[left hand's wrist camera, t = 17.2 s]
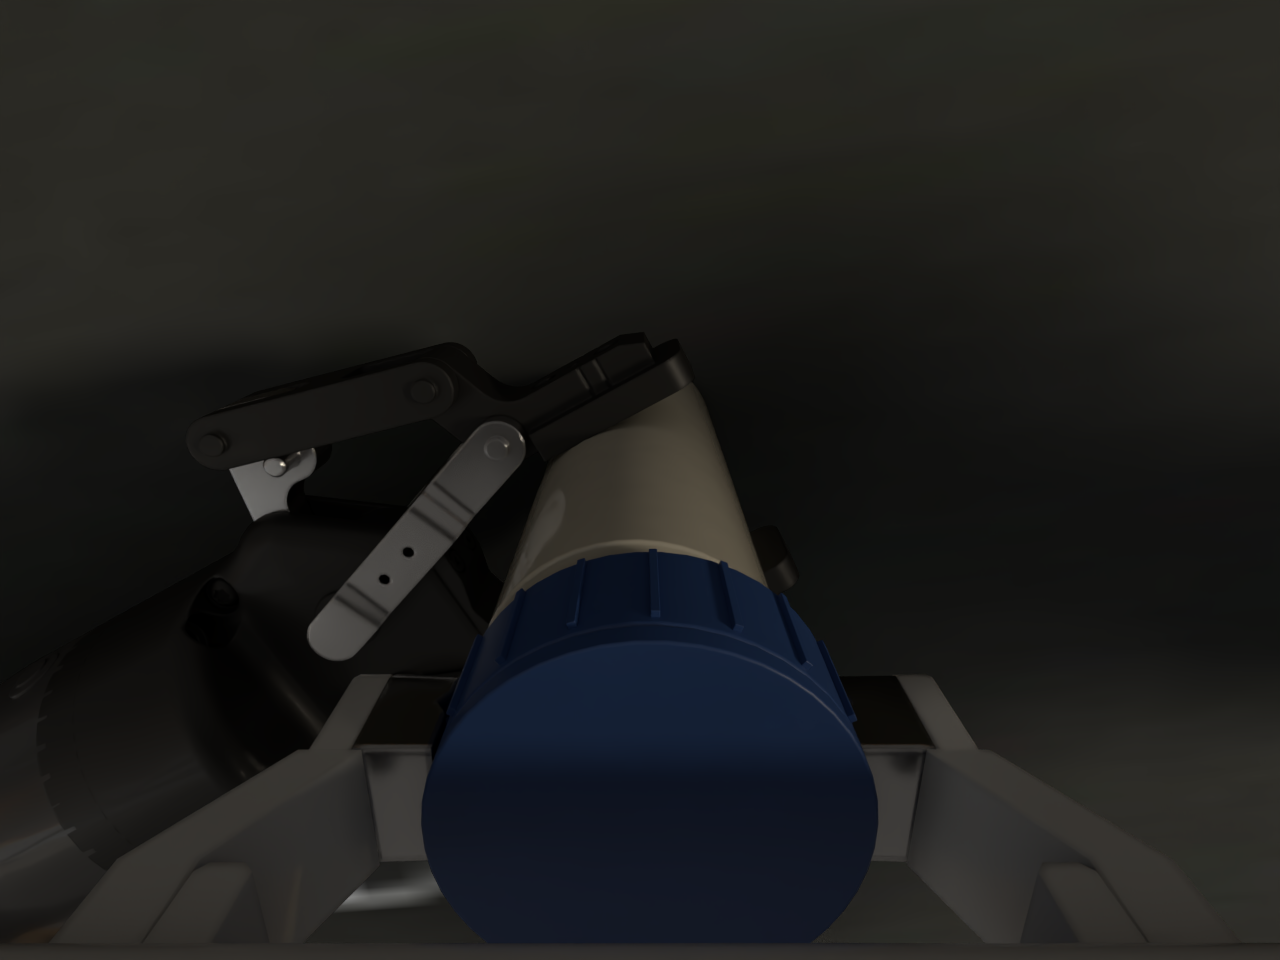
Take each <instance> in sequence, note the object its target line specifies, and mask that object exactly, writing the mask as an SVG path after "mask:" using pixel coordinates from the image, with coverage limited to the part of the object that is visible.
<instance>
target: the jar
mask: <svg viewBox="0 0 1280 960" xmlns="http://www.w3.org/2000/svg"><path fill="white" fill-rule="evenodd" d="M649 549H657V552H666V553H675V554H683V555H689V556H693V557H698V558H702V559H706V560H710V561H713V562H716V563H719V562H720V561H724V562H727V563H728V566H729V568H732V569H735V570H737V571H739V572H741V573H743V574H745V575H747V576H749V577H750V578H752V579H754V580H756V581H758V582H760V583H761V584H763V585H764V586H765V587H767V588H768V585H767V582H766V579H765V576H764V573H763V570H762V567H761V564H760V561H759V558H758V555H757V553H756V550H755V547H754V544H753V541H752V538H751V535H750V532H749V529H748V526H747V523H746V520H745V517H744V514H743V511H742V508H741V506H740V503H739V500H738V497H737V494H736V491H735V488H734V485H733V482H732V479H731V476H730V473H729V470H728V467H727V464H726V461H725V459H724V456H723V453H722V450H721V447H720V444H719V441H718V438H717V435H716V432H715V429H714V426H713V423H712V420H711V417H710V414H709V411H708V409H707V406H706V404H705V401H704V399H703V397H702V395H701V394H700V392H699V390H698V389H697V388H696V387H695V385H694V384H693V383H692V382H691V383H690V384H688V385H687V386H686V387H684V388H683V389H681V390H680V391H678V392H676V393H674V394H672V395H670V396H669V397H667V398H665V399H663V400H661V401H659V402H657V403H655V404H653V405H652V406H650V407H648V408H646V409H644V410H642V411H640V412H638V413H636V414H635V415H633V416H631V417H629V418H627V419H625V420H623V421H621V422H620V423H618V424H616V425H614V426H612V427H610V428H608V429H606V430H604V431H603V432H601V433H599V434H597V435H595V436H593V437H591V438H589V439H587V440H584V441H583V442H581V443H579V444H578V445H576V446H574V447H572V448H571V449H569V450H567V451H565V452H563V453H561V454H559V455H557V456H555V457H554V458H552V459H550V460H549V461H548V464H547V467H546V469H545V472H544V475H543V478H542V480H541V483H540V486H539V489H538V491H537V494H536V497H535V500H534V502H533V505H532V508H531V511H530V513H529V516H528V519H527V522H526V524H525V527H524V530H523V533H522V535H521V538H520V541H519V544H518V546H517V549H516V552H515V555H514V557H513V560H512V563H511V566H510V568H509V571H508V574H507V577H506V579H505V582H504V585H503V588H502V590H501V593H500V596H499V599H498V601H497V604H496V607H495V610H494V612H493V615H492V618H491V621H490V623H489V626H490V625H491V624H492V622H493V621H494V620H495V619H496V617H497V616H498V615H499V614H500V612H502V611H503V610H504V609H505V608H506V607H507V606H508V605H509V604H510V603H511V602H512V601H513V600H514V598H515V595H516V592H517V591H518V590H520V589H521V588H523V589H524V590H525V591H526V590H527V589H529V588H530V587H532V586H533V585H534V584H536V583H537V582H539V581H541V580H543V579H545V578H547V577H548V576H550V575H552V574H554V573H556V572H558V571H560V570H562V569H565V568H568V567H570V566H573V565H576V564H577V560H579V559H582V558H585V560H586V561H587V560H591V559H595V558H599V557H604V556H608V555H614V554H623V553H631V552H649ZM768 589H769V588H768ZM489 626H488V627H489Z"/></svg>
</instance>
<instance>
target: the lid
mask: <svg viewBox="0 0 1280 960" xmlns="http://www.w3.org/2000/svg"><path fill="white" fill-rule="evenodd" d="M446 714H447V715H450V716H449V717H447V718H446V728H445V730H444V733H443V736H442V738H441V741H440V744H439V746H438V749H437V751H436V754H435V757H434V759H433V762H432V765H431V767H430V770H429V773H428V775H427V778H426V783H425V788H424V793H423V798H422V810H421V828H422V835H423V842H424V849H425V852H426V856H427V859H428V862H429V865H430V869H431V872H432V874H433V876H434V878H435V880H436V882H437V884H438V886H439V888H440V890H441V892H442V893H443V895H444V896H445V898H446V899H447V901H448V902H449V904H450V905H451V906H452V908H453V909H454V911H455V912H456V913H457V914H458V915H459V916H460V918H461V919H462V920H463V921H464V922H465V923H466V924H467V925H468V926H469V927H470V928H471V929H472V930H473V931H474V932H475V933H476V934H477V935H479V936H480V937H481V938H482V939H483V940H484V941H486V942H487V943H811V942H812V941H813V940H815V939H816V938H817V937H818V936H819V935H821V934H822V933H823V932H824V931H825V930H826V929H828V928H829V926H830V925H831V924H832V923H833V922H834V921H835V920H836V919H837V918H838V917H839V916H840V914H841V913H842V912H843V911H844V910H845V908H846V907H847V906H848V904H849V903H850V901H851V900H852V898H853V897H854V896H855V894H856V893H857V891H858V889H859V887H860V885H861V883H862V881H863V879H864V877H865V875H866V873H867V871H868V869H869V865H870V862H871V859H872V856H873V853H874V850H875V844H876V838H877V831H878V824H879V823H878V798H877V793H876V788H875V783H874V778H873V775H872V772H871V769H870V767H869V764H868V762H867V759H866V756H865V754H864V751H863V749H862V747H861V744H860V742H859V739H858V737H857V735H856V732H855V730H854V727H853V725H852V722H855V721H857V718H856V715H855V713H854V711H853V708H852V706H851V704H850V701H849V699H848V697H847V695H846V692H845V690H844V688H843V685H842V683H841V681H840V678H839V676H838V674H837V671H836V669H835V667H834V664H833V662H832V660H831V657H830V655H829V653H828V650H827V648H826V646H825V644H824V642H823V640H820V641H818V642H817V641H816V640H815V638H814V636H813V634H812V633H811V631H810V629H809V628H808V627H807V626H806V624H805V623H804V622H803V621H802V619H801V618H800V617H799V616H798V614H797V613H796V612H795V611H794V610H793V609H792V608H791V607H790V605H789V602H788V600H787V597H786V596H785V595H784V594H782V593H780V594H779V595H777V594H775V593H774V592H772V591H771V590H770V589H768V588H767V587H765V586H764V585H763V584H761V583H760V582H758V581H756V580H754V579H752V578H750V577H749V576H747V575H745V574H743V573H741V572H739V571H737V570H735V569H732V568H729V566H728V563H727V562H724V561H720V562H719V563H716V562H713V561H710V560H706V559H702V558H698V557H693V556H689V555H683V554H675V553H666V552H657V549H649V552H631V553H623V554H614V555H608V556H604V557H599V558H595V559H591V560H587V561H586V560H585V558H582V559H579V560H577V564H576V565H573V566H570V567H568V568H565V569H562V570H560V571H558V572H556V573H554V574H552V575H550V576H548V577H547V578H545V579H543V580H541V581H539V582H537V583H536V584H534V585H533V586H532V587H530V588H529V589H527V590H526V591H525V590H524V589H523V588H521V589H520V590H518V591H517V592H516V595H515V598H514V600H513V601H512V602H511V603H510V604H509V605H508V606H507V607H506V608H505V609H504V610H503V611H502V612H500V614H499V615H498V616H497V617H496V619H495V620H494V621H493V622H492V624H491V625H490V626H489V627H488V629H487V630H486V632H485V633H484V635H483V636H481V635H479V634H477V636H476V637H475V639H474V642H473V644H472V647H471V649H470V652H469V655H468V657H467V660H466V662H465V665H464V668H463V670H462V673H461V675H460V678H459V680H458V683H457V686H456V688H455V691H454V693H453V696H452V698H451V701H450V704H449V706H448V709H447V711H446Z"/></svg>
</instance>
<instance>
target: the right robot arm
mask: <svg viewBox="0 0 1280 960" xmlns="http://www.w3.org/2000/svg"><path fill="white" fill-rule="evenodd" d="M694 378H695V375H694V373H693V370H692V367H691V364H690V362H689V361H688V359H687V357H686V355H685V353H684V351H683V349H682V347H681V345H680V343H679V342H678V340H677V339H672V340H670V341H667V342H665V343H663V344H661V345H659V346H657V347H655V348H652V346H651V345H650V343H649V341H648V339H647V337H646V335H645V333H644V332H640V333H632V334H624V335H619V336H617V337H616V338H614V339H612V340H610V341H608V342H607V343H605V344H603V345H601V346H600V347H598V348H596V349H594V350H592V351H590V352H589V353H587V354H585V355H584V356H582V357H580V358H578V359H576V360H574V361H572V362H571V363H569V364H567V365H565V366H563V367H561V368H560V369H558V370H556V371H554V372H552V373H551V374H549V375H547V376H545V377H543V378H542V379H540V380H538V381H536V382H534V383H532V384H530V385H527V386H522V387H513V386H508V385H505V384H503V383H501V382H499V381H497V380H496V379H495V378H493V377H492V376H491V375H490V374H488V373H487V372H486V371H485V370H484V369H482V368H481V367H480V366H479V365H477V361H476V359H475V357H474V355H473V354H472V353H471V351H470V350H469V349H467V348H466V347H465V346H463V345H461V344H458V343H453V342H448V343H443V344H439V345H435V346H431V347H427V348H423V349H419V350H416V351H412V352H408V353H404V354H400V355H396V356H392V357H389V358H385V359H381V360H377V361H373V362H369V363H365V364H362V365H358V366H354V367H350V368H346V369H342V370H338V371H334V372H331V373H327V374H323V375H319V376H315V377H311V378H307V379H304V380H300V381H296V382H292V383H288V384H284V385H280V386H277V387H273V388H269V389H265V390H261V391H257V392H255V393H253V394H250V395H248V396H246V397H244V398H242V399H240V400H238V401H235V402H233V403H231V404H229V405H227V406H225V407H223V408H221V409H218V410H216V411H214V412H212V413H210V414H208V415H206V416H203V417H201V418H199V419H197V420H196V421H194V422H193V423H192V424H191V425H190V426H189V428H188V430H187V433H186V444H187V447H188V450H189V452H190V454H191V455H192V456H193V458H194V459H195V460H196V461H197V462H199V463H200V464H201V465H203V466H205V467H207V468H209V469H212V470H228V469H229V470H230V472H231V474H232V476H233V478H234V481H235V483H236V485H237V487H238V489H239V491H240V493H241V495H242V497H243V499H244V502H245V504H246V506H247V508H248V510H249V512H250V514H251V516H252V518H253V520H254V522H253V523H252V524H251V525H250V526H249V527H248V528H247V529H246V530H245V532H244V533H243V535H242V537H241V539H240V542H239V544H238V546H237V548H236V550H235V551H234V552H232V553H231V554H229V555H227V556H225V557H223V558H222V559H220V560H218V561H216V562H214V563H213V564H211V565H209V566H207V567H205V568H203V569H202V570H200V571H198V572H196V573H194V574H193V575H191V576H189V577H187V578H185V579H183V580H182V581H180V582H178V583H176V584H174V585H173V586H171V587H169V588H167V589H165V590H164V591H162V592H160V593H158V594H156V595H154V596H153V597H151V598H149V599H147V600H145V601H144V602H142V603H140V604H138V605H136V606H135V607H133V608H131V609H129V610H127V611H126V612H124V613H122V614H120V615H118V616H117V617H115V618H113V619H111V620H109V621H107V622H106V623H104V624H102V625H100V626H98V627H97V628H95V629H93V630H91V631H89V632H88V633H86V634H84V635H82V636H80V637H79V638H77V639H75V640H73V641H71V642H69V643H68V644H66V645H64V646H62V647H60V648H59V649H57V650H55V651H53V652H51V653H49V654H48V655H46V656H44V657H42V658H40V659H39V660H37V661H35V662H33V663H32V664H30V665H29V666H27V667H25V668H24V669H22V670H20V671H19V672H18V673H16V674H15V675H13V676H12V677H10V678H9V679H8V680H6V681H5V682H3V683H2V684H1V685H0V943H49V942H50V941H51V939H52V938H53V937H54V936H55V935H56V933H57V932H58V931H59V930H60V928H61V927H62V926H63V925H64V924H65V922H66V921H67V920H68V919H69V917H70V916H71V915H72V914H73V912H74V911H75V910H76V909H77V908H78V906H79V905H80V904H81V903H82V901H83V900H84V899H85V898H86V897H87V895H88V894H89V893H90V892H91V890H92V889H93V888H94V887H95V885H96V884H97V883H98V882H99V881H100V879H101V878H102V877H103V876H104V874H105V873H106V872H107V871H108V870H109V868H110V867H111V866H112V865H113V863H114V862H115V861H116V860H117V859H118V858H119V857H121V856H123V855H124V854H126V853H128V852H129V851H131V850H133V849H134V848H136V847H138V846H139V845H141V844H143V843H144V842H146V841H148V840H149V839H151V838H153V837H154V836H156V835H158V834H159V833H161V832H162V831H164V830H166V829H167V828H169V827H171V826H172V825H174V824H176V823H177V822H179V821H181V820H182V819H184V818H186V817H187V816H189V815H191V814H192V813H194V812H196V811H197V810H199V809H201V808H202V807H204V806H206V805H207V804H209V803H211V802H212V801H214V800H216V799H217V798H219V797H220V796H222V795H224V794H225V793H227V792H229V791H230V790H232V789H234V788H235V787H237V786H239V785H240V784H242V783H244V782H245V781H247V780H249V779H250V778H252V777H254V776H255V775H257V774H259V773H260V772H262V771H264V770H265V769H267V768H269V767H270V766H272V765H273V764H275V763H277V762H278V761H280V760H282V759H283V758H285V757H287V756H288V755H290V754H292V753H293V752H295V751H297V750H309V748H310V747H311V745H312V744H313V742H314V740H315V739H316V737H317V736H318V734H319V732H320V731H321V729H322V728H323V726H324V724H325V723H326V721H327V720H328V718H329V716H330V715H331V713H332V711H333V710H334V708H335V707H336V705H337V703H338V702H339V700H340V699H341V697H342V695H343V694H344V692H345V691H346V689H347V687H348V686H349V684H350V683H351V681H352V680H353V679H354V677H356V676H358V675H360V674H391V675H395V674H402V675H448V676H460V675H461V673H462V670H463V668H464V665H465V662H466V660H467V657H468V655H469V652H470V649H471V647H472V644H473V642H474V639H475V637H476V636H477V634H479V635H481V636H483V635H484V633H485V632H486V630H487V629H488V626H489V623H490V621H491V618H492V615H493V612H494V610H495V607H496V604H497V601H498V599H499V596H500V593H501V590H502V588H503V585H504V583H502V582H501V581H500V580H499V579H498V578H497V577H496V576H494V575H493V574H492V573H491V572H490V571H489V569H488V566H487V563H486V560H485V557H484V555H483V552H482V549H481V546H480V543H479V542H478V541H477V539H476V538H475V536H474V535H473V533H472V532H471V530H470V529H469V527H468V526H467V525H468V524H469V522H470V521H471V520H472V519H473V517H474V516H475V515H476V514H477V513H478V512H479V510H480V509H481V508H482V507H483V506H484V505H485V504H486V503H487V502H488V500H489V499H490V498H491V497H492V496H493V495H494V494H495V493H496V491H497V490H498V489H499V488H500V487H501V486H502V485H503V484H504V483H505V481H506V480H507V479H508V478H509V477H510V476H511V475H512V474H513V472H514V471H515V470H516V469H517V468H518V467H519V466H520V464H521V463H522V461H523V460H524V459H526V458H528V457H530V456H532V455H534V454H535V453H537V452H539V454H540V455H541V457H542V458H543V460H544V461H545V462H546V461H548V460H550V459H552V458H554V457H555V456H557V455H559V454H561V453H563V452H565V451H567V450H569V449H571V448H572V447H574V446H576V445H578V444H579V443H581V442H583V441H584V440H587V439H589V438H591V437H593V436H595V435H597V434H599V433H601V432H603V431H604V430H606V429H608V428H610V427H612V426H614V425H616V424H618V423H620V422H621V421H623V420H625V419H627V418H629V417H631V416H633V415H635V414H636V413H638V412H640V411H642V410H644V409H646V408H648V407H650V406H652V405H653V404H655V403H657V402H659V401H661V400H663V399H665V398H667V397H669V396H670V395H672V394H674V393H676V392H678V391H680V390H681V389H683V388H684V387H686V386H687V385H688V384H690V383H691V382H692V381H693V380H694ZM428 419H432V420H434V421H435V422H436V423H438V424H439V425H440V426H441V427H443V428H444V429H445V430H447V431H448V432H449V433H450V434H452V435H453V436H454V437H456V438H457V439H458V440H459V441H461V442H462V443H461V444H460V445H459V446H458V447H457V449H456V450H455V451H454V452H453V453H452V454H451V455H450V456H449V457H448V459H447V460H446V461H445V462H444V463H443V464H442V466H441V467H440V468H439V469H438V470H437V471H436V473H435V474H434V475H433V476H432V477H431V478H430V480H429V481H428V482H427V483H426V484H425V485H424V487H423V488H422V489H421V490H420V491H419V492H418V494H417V495H416V496H415V497H414V498H413V500H412V501H411V502H410V503H409V504H408V505H407V507H405V506H396V505H387V504H379V503H370V502H361V501H353V500H344V499H335V498H327V497H318V496H309V495H305V493H304V480H305V479H306V478H307V477H309V476H310V475H311V474H312V473H314V472H315V471H316V470H317V469H319V468H320V467H321V466H322V465H324V464H325V463H326V462H327V461H328V459H329V458H330V456H331V452H332V443H336V442H340V441H344V440H348V439H352V438H356V437H360V436H364V435H368V434H372V433H376V432H380V431H384V430H388V429H392V428H396V427H400V426H404V425H408V424H412V423H416V422H420V421H424V420H428ZM750 535H751V538H752V541H753V544H754V547H755V550H756V553H757V555H758V558H759V561H760V564H761V567H762V570H763V573H764V576H765V579H766V582H767V585H768V588H769V589H770V590H771V591H772V592H774V593H775V594H777V595H779V594H780V593H782V592H784V591H786V590H788V589H789V588H791V587H792V586H793V585H794V584H795V583H796V582H797V580H798V578H799V572H798V570H797V568H796V565H795V563H794V561H793V559H792V556H791V554H790V552H789V550H788V548H787V546H786V544H785V542H784V540H783V538H782V536H781V534H780V532H779V531H778V529H777V527H775V526H765V527H761V528H759V529H756V530H754V531H752V532H750Z"/></svg>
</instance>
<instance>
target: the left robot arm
mask: <svg viewBox="0 0 1280 960" xmlns="http://www.w3.org/2000/svg"><path fill="white" fill-rule="evenodd" d="M459 678H460V676H448V675H402V674H395V675H391V674H360V675H358V676H356V677H354V679H353V680H352V681H351V683H350V684H349V686H348V687H347V689H346V691H345V692H344V694H343V695H342V697H341V699H340V700H339V702H338V703H337V705H336V707H335V708H334V710H333V711H332V713H331V715H330V716H329V718H328V720H327V721H326V723H325V724H324V726H323V728H322V729H321V731H320V732H319V734H318V736H317V737H316V739H315V740H314V742H313V744H312V745H311V747H310V748H309V750H297V751H295V752H293V753H292V754H290V755H288V756H287V757H285V758H283V759H282V760H280V761H278V762H277V763H275V764H273V765H272V766H270V767H269V768H267V769H265V770H264V771H262V772H260V773H259V774H257V775H255V776H254V777H252V778H250V779H249V780H247V781H245V782H244V783H242V784H240V785H239V786H237V787H235V788H234V789H232V790H230V791H229V792H227V793H225V794H224V795H222V796H220V797H219V798H217V799H216V800H214V801H212V802H211V803H209V804H207V805H206V806H204V807H202V808H201V809H199V810H197V811H196V812H194V813H192V814H191V815H189V816H187V817H186V818H184V819H182V820H181V821H179V822H177V823H176V824H174V825H172V826H171V827H169V828H167V829H166V830H164V831H162V832H161V833H159V834H158V835H156V836H154V837H153V838H151V839H149V840H148V841H146V842H144V843H143V844H141V845H139V846H138V847H136V848H134V849H133V850H131V851H129V852H128V853H126V854H124V855H123V856H121V857H119V858H118V859H117V860H116V861H115V862H114V863H113V865H112V866H111V867H110V868H109V870H108V871H107V872H106V873H105V874H104V876H103V877H102V878H101V879H100V881H99V882H98V883H97V884H96V885H95V887H94V888H93V889H92V890H91V892H90V893H89V894H88V895H87V897H86V898H85V899H84V900H83V901H82V903H81V904H80V905H79V906H78V908H77V909H76V910H75V911H74V912H73V914H72V915H71V916H70V917H69V919H68V920H67V921H66V922H65V924H64V925H63V926H62V927H61V928H60V930H59V931H58V932H57V933H56V935H55V936H54V937H53V938H52V939H51V941H50V942H49V943H0V960H1280V943H1242V942H1241V941H1240V940H1239V939H1238V937H1237V936H1236V935H1235V934H1234V933H1233V931H1232V930H1231V929H1230V928H1229V927H1228V925H1227V924H1226V923H1225V922H1224V920H1223V919H1222V918H1221V917H1220V916H1219V914H1218V913H1217V912H1216V911H1215V910H1214V908H1213V907H1212V906H1211V905H1210V903H1209V902H1208V901H1207V900H1206V899H1205V897H1204V896H1203V895H1202V894H1201V893H1200V891H1199V890H1198V889H1197V888H1196V886H1195V885H1194V884H1193V883H1192V882H1191V880H1190V879H1189V878H1188V877H1187V876H1186V874H1185V873H1184V872H1183V871H1182V869H1181V868H1180V867H1179V866H1178V865H1177V863H1176V862H1175V861H1174V860H1173V859H1171V858H1169V857H1168V856H1166V855H1164V854H1163V853H1161V852H1159V851H1158V850H1156V849H1154V848H1153V847H1151V846H1149V845H1148V844H1146V843H1144V842H1143V841H1141V840H1139V839H1138V838H1136V837H1134V836H1133V835H1131V834H1129V833H1128V832H1126V831H1124V830H1123V829H1121V828H1119V827H1118V826H1116V825H1114V824H1113V823H1111V822H1109V821H1108V820H1106V819H1104V818H1103V817H1101V816H1099V815H1098V814H1096V813H1094V812H1093V811H1091V810H1089V809H1088V808H1086V807H1084V806H1083V805H1081V804H1079V803H1078V802H1076V801H1074V800H1073V799H1071V798H1069V797H1068V796H1066V795H1064V794H1063V793H1061V792H1059V791H1058V790H1056V789H1054V788H1053V787H1051V786H1049V785H1048V784H1046V783H1044V782H1043V781H1041V780H1039V779H1038V778H1036V777H1034V776H1033V775H1031V774H1029V773H1028V772H1026V771H1024V770H1023V769H1021V768H1019V767H1018V766H1016V765H1014V764H1013V763H1011V762H1009V761H1008V760H1006V759H1004V758H1003V757H1001V756H999V755H998V754H996V753H994V752H993V751H991V750H979V749H978V747H977V746H976V744H975V743H974V741H973V740H972V738H971V737H970V735H969V733H968V732H967V730H966V729H965V727H964V726H963V724H962V723H961V721H960V720H959V718H958V716H957V715H956V713H955V712H954V710H953V709H952V707H951V706H950V704H949V702H948V701H947V699H946V698H945V696H944V695H943V693H942V692H941V690H940V689H939V687H938V685H937V684H936V682H935V681H934V679H933V678H932V677H931V676H929V675H927V674H904V675H892V676H839V678H840V681H841V683H842V685H843V688H844V690H845V692H846V695H847V697H848V699H849V701H850V704H851V706H852V708H853V711H854V713H855V715H856V718H857V721H855V722H852V725H853V727H854V730H855V732H856V735H857V737H858V739H859V742H860V744H861V747H862V749H863V751H864V754H865V756H866V759H867V762H868V764H869V767H870V769H871V772H872V775H873V778H874V783H875V788H876V793H877V798H878V823H879V824H878V831H877V838H876V844H875V850H874V853H873V856H872V859H871V861H898V862H907V865H908V866H909V867H910V868H911V869H912V870H913V871H914V872H915V873H916V874H917V875H918V876H919V877H920V878H921V879H922V880H923V881H924V882H925V883H926V884H927V885H928V886H929V887H930V888H931V889H932V890H933V891H934V892H935V893H936V894H937V895H938V896H939V897H940V898H941V899H942V900H943V901H944V902H945V903H946V904H947V905H948V906H949V907H950V908H951V909H952V910H953V911H954V912H955V913H956V914H957V915H958V916H959V917H960V918H961V919H962V920H963V921H964V922H965V923H966V924H967V925H968V926H969V927H970V928H971V929H972V930H973V931H974V932H975V933H976V934H977V935H978V936H979V937H980V938H981V939H982V940H983V941H984V942H985V943H303V942H304V941H305V940H306V939H307V938H308V937H309V936H310V935H311V934H312V933H313V932H314V931H315V930H316V929H317V928H318V927H319V926H320V925H321V924H322V923H323V922H324V921H325V920H326V919H327V918H328V917H329V916H330V915H331V914H332V913H333V912H334V911H335V910H336V909H337V908H338V907H339V906H340V905H341V904H342V903H343V902H344V901H345V900H346V899H347V898H348V897H349V896H350V895H351V894H352V893H353V892H354V891H355V890H356V889H357V888H358V887H359V886H360V885H361V884H362V883H363V882H364V881H365V880H366V879H367V878H368V877H369V876H370V875H371V874H372V873H373V872H374V871H375V870H376V869H377V868H378V867H379V866H380V862H388V861H422V860H428V859H427V856H426V852H425V849H424V842H423V835H422V828H421V810H422V798H423V793H424V788H425V783H426V778H427V775H428V773H429V770H430V767H431V765H432V762H433V759H434V757H435V754H436V751H437V749H438V746H439V744H440V741H441V738H442V736H443V733H444V730H445V728H446V718H447V717H449V716H450V715H447V714H446V711H447V709H448V706H449V704H450V701H451V698H452V696H453V693H454V691H455V688H456V686H457V683H458V680H459Z"/></svg>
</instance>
